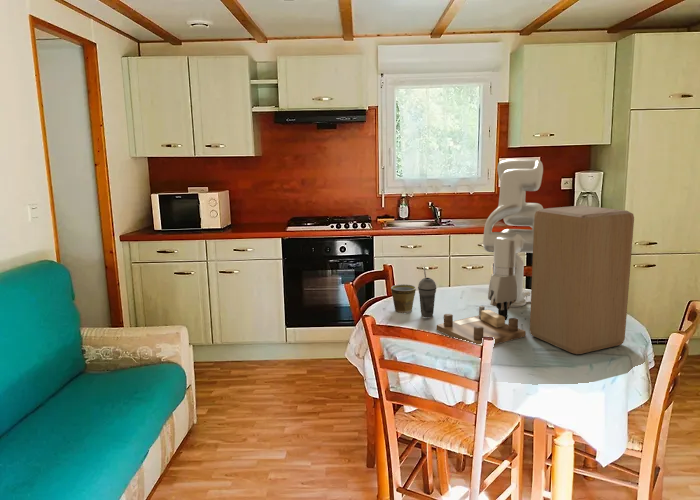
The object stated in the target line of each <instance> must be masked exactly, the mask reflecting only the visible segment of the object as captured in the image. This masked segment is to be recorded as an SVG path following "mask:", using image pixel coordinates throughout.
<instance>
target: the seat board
mask: <svg viewBox="0 0 700 500" xmlns="http://www.w3.org/2000/svg"><path fill="white" fill-rule="evenodd" d="M482 310H486V309H485V306H484V305H480V306H479V308H478V315H474V316H471V317H465V318H462V319H457V320H454V319H453V318H454V314H452V313H445V314H443V322H442V323H438V324H436V329H435V330H436V331H437V332H440V333H442V334H444V335H446V336H448V337H451V338H453V337H455V338H458V339H462V340H466V341H469V342H473V343H476V344H481V343H482V338H483V336H489V337H494V339H495V344H494V345H498V344H502V343H505V342H509V341H513V340H517V339H521V338H524V337H526V336H527V335H526V333H527V332H526V330H524V329H521V328H519V318H516V317H510V318H508V323H506V322H505V326H504V327H495V326H493V325H491V324H489V323H487V322H485V321H483V320H481V311H482ZM455 338H454V339H455Z"/></svg>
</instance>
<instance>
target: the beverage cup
mask: <svg viewBox="0 0 700 500" xmlns="http://www.w3.org/2000/svg"><path fill="white" fill-rule="evenodd" d="M426 273H427V272H426V266H423V274H424V275H423V276H424V278H422V279H420V281H419V283H418V287H417V290H418V294H419V302H420V303H419V304H420V313H421V314H420V315H421V317H422V318H425V319H430V318H433V316H434V312H435V311H434V308H435V300H436V292H437V288H438V287H437V284H436V282H435V281H434V279H433V278H431V277H427V274H426Z"/></svg>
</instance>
